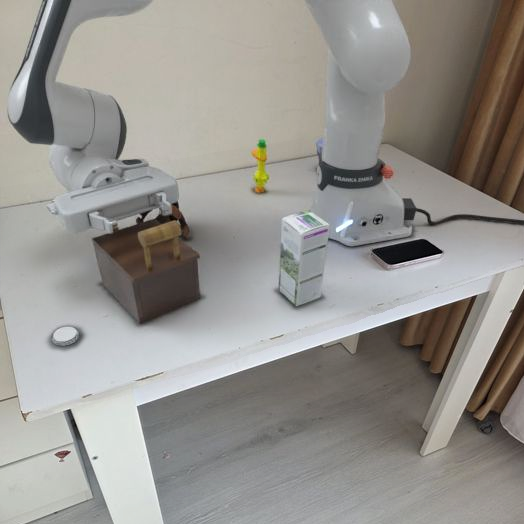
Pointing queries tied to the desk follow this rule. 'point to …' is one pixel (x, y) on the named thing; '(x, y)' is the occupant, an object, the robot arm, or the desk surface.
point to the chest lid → (146, 249)
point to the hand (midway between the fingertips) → (141, 219)
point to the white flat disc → (65, 335)
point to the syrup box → (302, 257)
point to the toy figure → (260, 166)
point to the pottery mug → (169, 219)
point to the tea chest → (150, 288)
